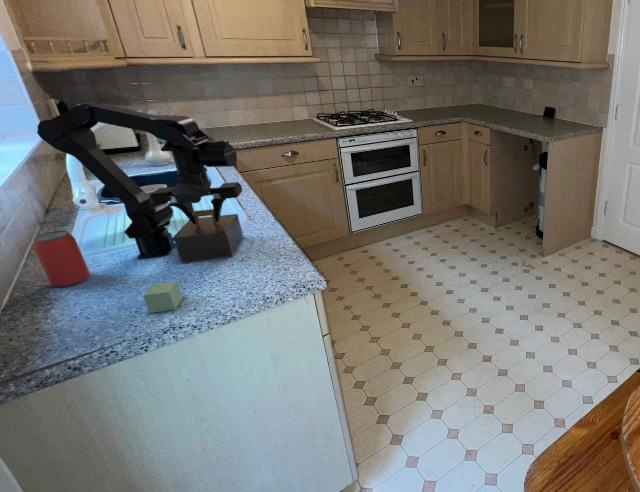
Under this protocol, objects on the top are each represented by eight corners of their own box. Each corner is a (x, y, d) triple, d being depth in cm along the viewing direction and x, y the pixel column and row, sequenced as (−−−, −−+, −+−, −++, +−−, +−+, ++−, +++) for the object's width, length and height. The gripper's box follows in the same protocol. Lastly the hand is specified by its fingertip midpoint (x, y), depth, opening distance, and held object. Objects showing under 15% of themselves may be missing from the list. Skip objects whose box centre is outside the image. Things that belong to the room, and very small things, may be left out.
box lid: (225, 235, 105) (220, 217, 103) (172, 241, 102) (166, 223, 100) (238, 216, 117) (234, 200, 115) (191, 221, 113) (186, 204, 111)
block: (149, 313, 85) (142, 295, 84) (158, 301, 89) (152, 284, 88) (175, 309, 87) (168, 291, 85) (182, 297, 91) (177, 280, 89)
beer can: (56, 291, 92) (33, 244, 88) (48, 282, 95) (26, 237, 91) (95, 278, 97) (75, 233, 93) (85, 270, 101) (67, 226, 96)
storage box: (232, 256, 109) (226, 234, 106) (181, 263, 105) (174, 239, 102) (243, 237, 119) (238, 216, 117) (197, 242, 116) (191, 221, 113)
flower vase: (190, 162, 192) (175, 108, 183) (141, 170, 178) (121, 113, 169) (180, 157, 199) (165, 106, 190) (132, 165, 185) (113, 110, 176)
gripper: (130, 179, 93) (151, 240, 99) (224, 172, 99) (239, 230, 105) (151, 166, 103) (169, 222, 109) (236, 161, 109) (248, 214, 115)
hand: (206, 222), depth 109 cm, fingers closed on box lid, 5 cm apart
